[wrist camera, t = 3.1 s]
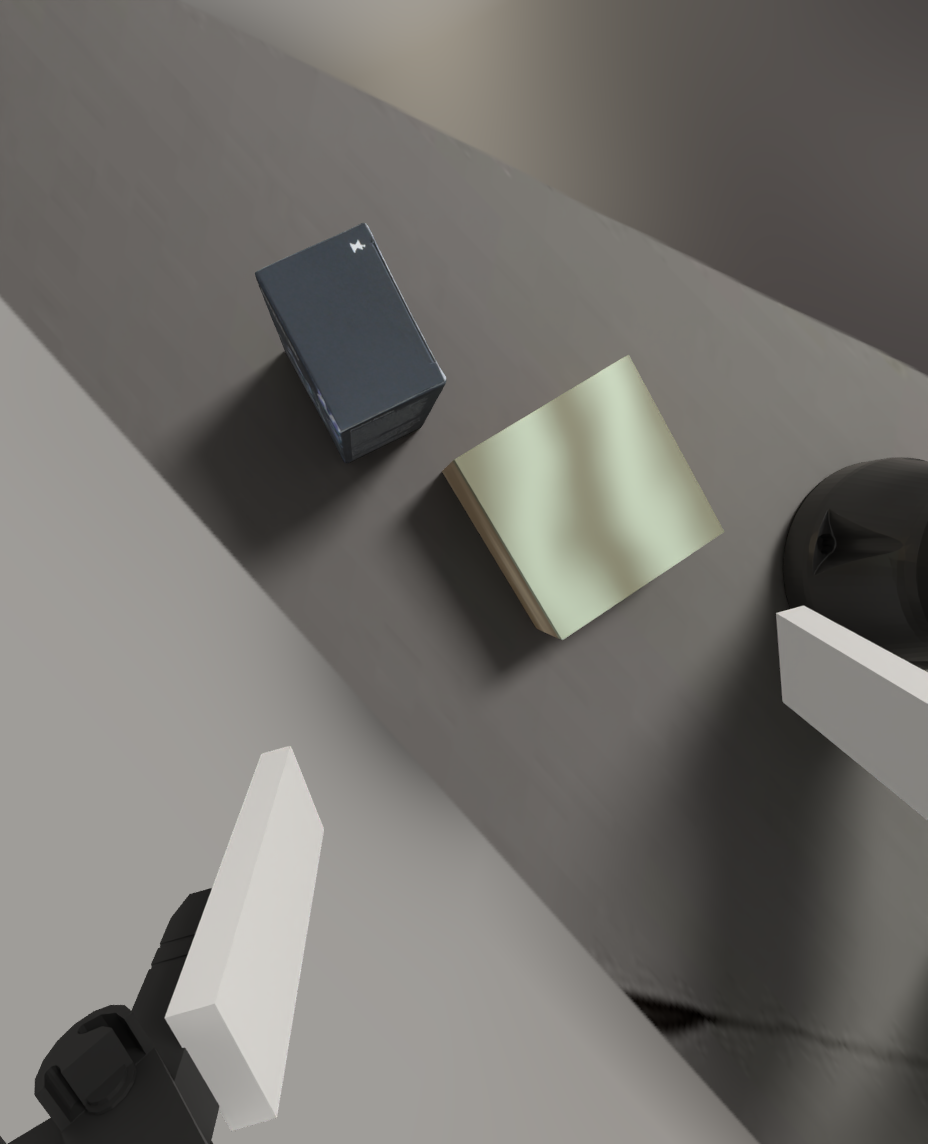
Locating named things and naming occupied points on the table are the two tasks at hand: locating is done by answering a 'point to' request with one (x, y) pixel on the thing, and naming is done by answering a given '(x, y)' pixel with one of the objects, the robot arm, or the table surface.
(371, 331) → the box
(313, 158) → the table surface
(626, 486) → the stand
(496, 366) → the table surface
